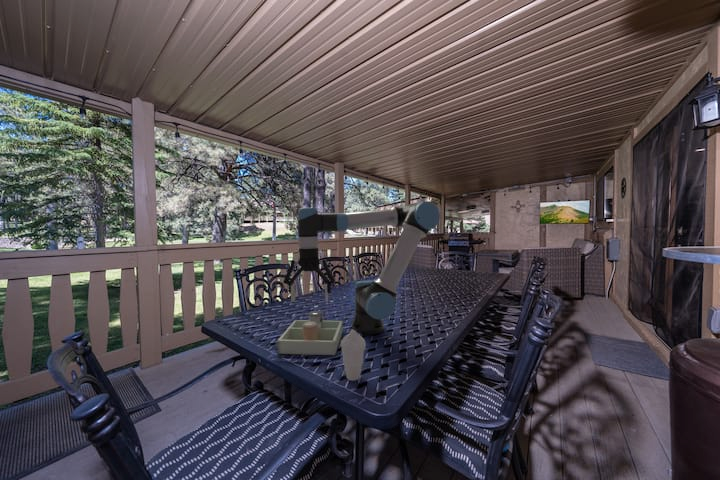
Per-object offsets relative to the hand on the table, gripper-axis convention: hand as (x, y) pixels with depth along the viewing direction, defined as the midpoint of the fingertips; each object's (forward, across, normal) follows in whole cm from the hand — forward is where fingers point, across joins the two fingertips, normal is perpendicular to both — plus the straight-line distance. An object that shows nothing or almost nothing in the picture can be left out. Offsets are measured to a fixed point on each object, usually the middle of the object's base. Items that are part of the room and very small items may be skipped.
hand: (310, 300), depth 107 cm
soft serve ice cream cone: (+20, -19, +19) cm, 33 cm away
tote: (+20, 0, -4) cm, 20 cm away
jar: (+18, 0, 0) cm, 19 cm away
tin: (+18, 0, -10) cm, 21 cm away
